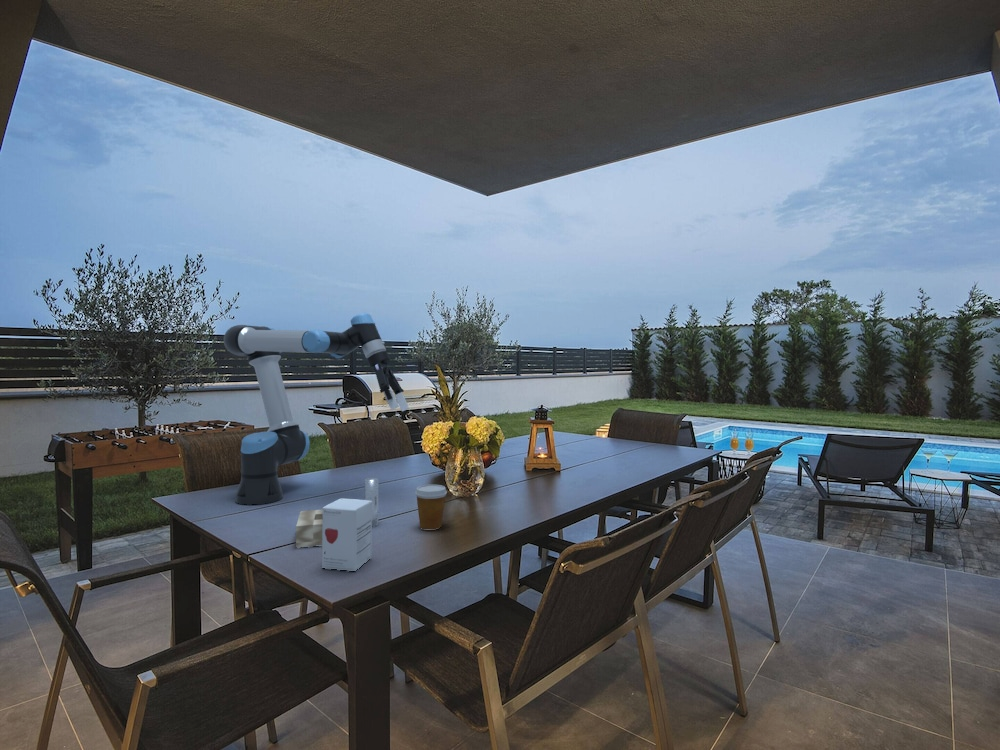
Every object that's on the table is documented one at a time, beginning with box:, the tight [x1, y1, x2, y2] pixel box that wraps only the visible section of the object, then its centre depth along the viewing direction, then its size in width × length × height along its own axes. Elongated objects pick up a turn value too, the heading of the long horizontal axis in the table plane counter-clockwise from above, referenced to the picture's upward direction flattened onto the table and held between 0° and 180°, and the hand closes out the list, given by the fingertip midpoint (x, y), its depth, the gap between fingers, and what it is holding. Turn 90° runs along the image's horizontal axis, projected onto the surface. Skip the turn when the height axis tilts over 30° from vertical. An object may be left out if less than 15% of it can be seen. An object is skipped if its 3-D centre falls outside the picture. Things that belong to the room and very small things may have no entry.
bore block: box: [295, 509, 323, 548], centre depth 143 cm, size 14×14×6 cm
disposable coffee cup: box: [414, 484, 448, 530], centre depth 152 cm, size 10×10×12 cm
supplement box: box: [321, 497, 373, 572], centre depth 124 cm, size 9×9×15 cm
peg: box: [364, 477, 379, 527], centre depth 154 cm, size 4×4×14 cm
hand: (400, 409), depth 177 cm, fingers open, 13 cm apart
